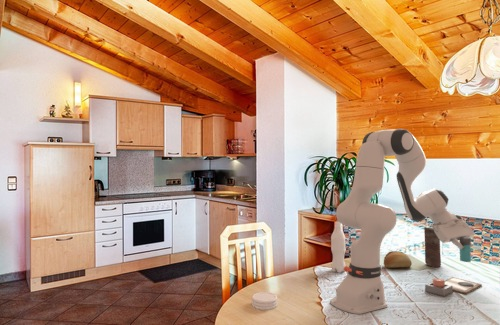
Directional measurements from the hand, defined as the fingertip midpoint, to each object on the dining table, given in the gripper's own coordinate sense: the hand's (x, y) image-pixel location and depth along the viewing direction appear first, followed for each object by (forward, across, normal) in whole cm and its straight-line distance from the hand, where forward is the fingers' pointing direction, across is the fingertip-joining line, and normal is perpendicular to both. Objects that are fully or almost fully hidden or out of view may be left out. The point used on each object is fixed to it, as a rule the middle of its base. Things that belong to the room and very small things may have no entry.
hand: (466, 247), depth 152 cm
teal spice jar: (+4, 0, +5) cm, 6 cm away
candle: (-7, +16, +32) cm, 36 cm away
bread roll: (-12, -3, +37) cm, 39 cm away
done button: (+9, -17, +12) cm, 22 cm away
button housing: (+11, -16, +13) cm, 24 cm away
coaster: (-5, -88, +30) cm, 93 cm away
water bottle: (-18, -35, +43) cm, 58 cm away
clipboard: (+11, -2, +14) cm, 17 cm away
